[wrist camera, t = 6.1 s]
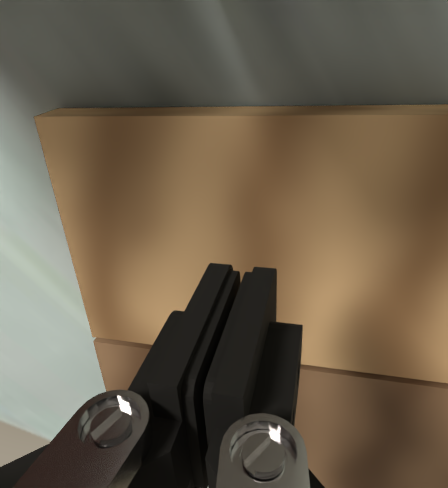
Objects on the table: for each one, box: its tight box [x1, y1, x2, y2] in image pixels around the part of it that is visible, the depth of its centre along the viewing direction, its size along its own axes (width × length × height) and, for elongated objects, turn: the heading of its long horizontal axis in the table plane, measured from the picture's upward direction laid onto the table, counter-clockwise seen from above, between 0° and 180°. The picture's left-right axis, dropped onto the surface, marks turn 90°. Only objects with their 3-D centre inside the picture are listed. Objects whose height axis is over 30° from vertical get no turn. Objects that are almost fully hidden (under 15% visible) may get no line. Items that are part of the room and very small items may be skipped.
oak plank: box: [34, 104, 448, 383], centre depth 19 cm, size 20×12×2 cm, turn 93°
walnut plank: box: [93, 337, 448, 488], centre depth 24 cm, size 20×10×2 cm, turn 93°
